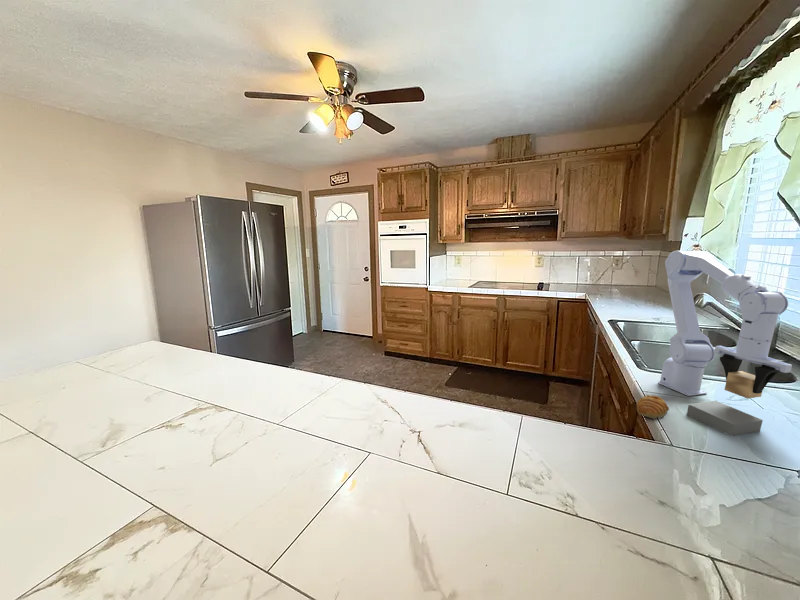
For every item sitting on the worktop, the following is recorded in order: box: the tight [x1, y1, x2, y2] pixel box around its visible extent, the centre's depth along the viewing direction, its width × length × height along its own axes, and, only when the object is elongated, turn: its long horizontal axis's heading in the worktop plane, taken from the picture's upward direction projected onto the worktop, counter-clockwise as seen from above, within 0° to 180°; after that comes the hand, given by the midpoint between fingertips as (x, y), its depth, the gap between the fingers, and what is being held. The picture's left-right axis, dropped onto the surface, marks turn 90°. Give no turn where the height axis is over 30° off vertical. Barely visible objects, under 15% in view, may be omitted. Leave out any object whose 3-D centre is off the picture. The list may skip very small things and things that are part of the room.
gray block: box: [686, 400, 764, 437], centre depth 85 cm, size 10×10×3 cm
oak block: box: [724, 370, 763, 399], centre depth 87 cm, size 5×5×5 cm
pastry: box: [635, 395, 670, 419], centre depth 90 cm, size 9×7×4 cm
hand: (743, 387), depth 87 cm, fingers closed on oak block, 5 cm apart
